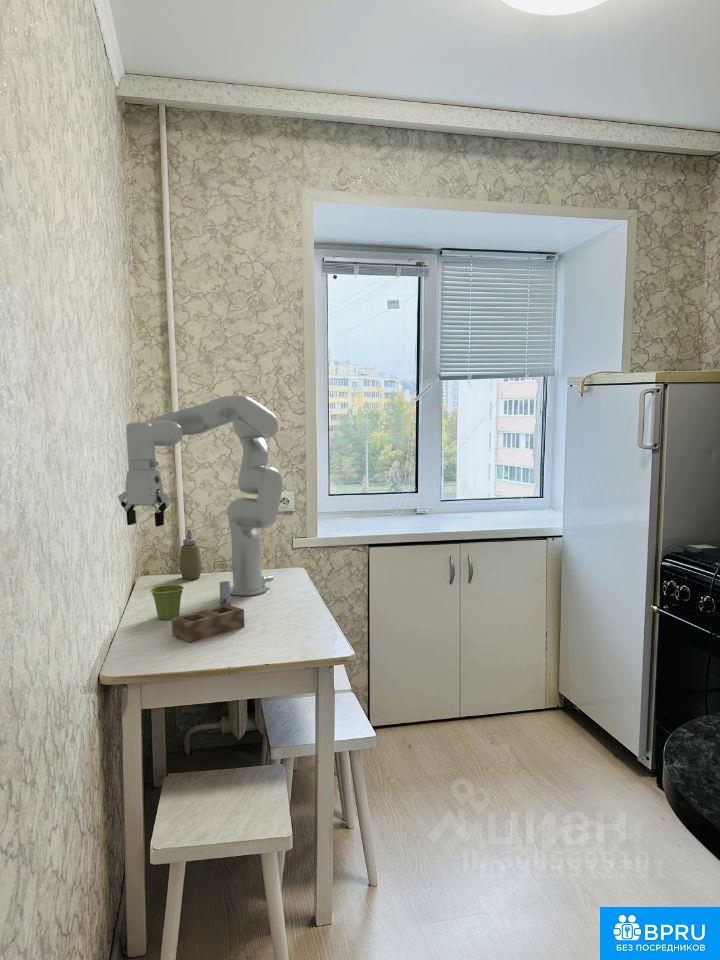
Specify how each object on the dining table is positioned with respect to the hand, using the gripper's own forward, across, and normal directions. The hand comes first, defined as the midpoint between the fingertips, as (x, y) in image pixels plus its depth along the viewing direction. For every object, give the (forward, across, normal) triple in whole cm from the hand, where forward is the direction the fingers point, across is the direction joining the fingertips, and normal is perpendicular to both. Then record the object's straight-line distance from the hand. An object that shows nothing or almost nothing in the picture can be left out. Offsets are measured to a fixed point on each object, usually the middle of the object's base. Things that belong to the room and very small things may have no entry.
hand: (145, 525), depth 197 cm
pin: (+28, -18, -11) cm, 36 cm away
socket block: (+28, -22, +3) cm, 36 cm away
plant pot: (+29, -3, -5) cm, 29 cm away
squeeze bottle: (+29, +18, -47) cm, 58 cm away
